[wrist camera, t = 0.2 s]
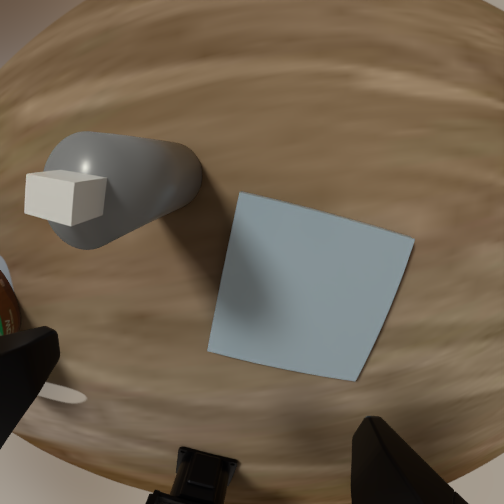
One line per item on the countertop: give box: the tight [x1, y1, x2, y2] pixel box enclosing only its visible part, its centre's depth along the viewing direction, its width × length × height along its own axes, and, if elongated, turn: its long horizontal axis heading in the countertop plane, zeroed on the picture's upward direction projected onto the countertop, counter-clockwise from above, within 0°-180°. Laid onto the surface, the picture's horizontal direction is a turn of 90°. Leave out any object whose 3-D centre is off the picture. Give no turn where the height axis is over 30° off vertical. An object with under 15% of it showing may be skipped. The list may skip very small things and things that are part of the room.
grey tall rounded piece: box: [24, 132, 202, 250], centre depth 14 cm, size 5×5×12 cm
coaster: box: [207, 191, 415, 381], centre depth 21 cm, size 12×12×1 cm
